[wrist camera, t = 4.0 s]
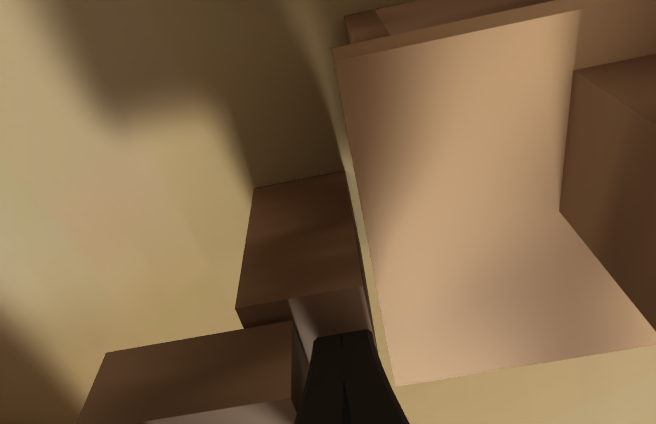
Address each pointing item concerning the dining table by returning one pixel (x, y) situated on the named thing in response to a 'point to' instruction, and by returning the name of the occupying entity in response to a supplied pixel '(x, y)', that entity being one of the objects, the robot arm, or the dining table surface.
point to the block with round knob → (203, 380)
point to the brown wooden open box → (326, 215)
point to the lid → (508, 184)
